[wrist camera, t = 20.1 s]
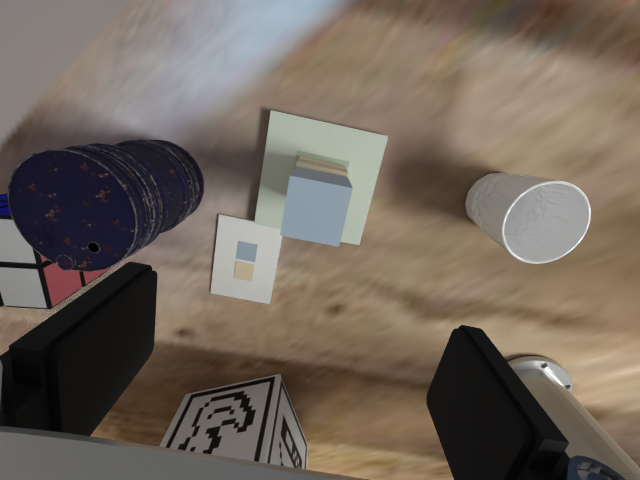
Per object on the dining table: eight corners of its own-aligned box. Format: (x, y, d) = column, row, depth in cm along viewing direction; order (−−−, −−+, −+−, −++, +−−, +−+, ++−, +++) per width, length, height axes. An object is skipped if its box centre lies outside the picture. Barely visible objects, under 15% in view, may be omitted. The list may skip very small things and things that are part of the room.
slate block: (336, 225, 33) (339, 246, 27) (287, 216, 33) (279, 235, 27) (347, 176, 31) (352, 188, 26) (296, 166, 31) (289, 175, 25)
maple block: (334, 207, 39) (336, 222, 33) (293, 199, 38) (287, 212, 33) (344, 165, 37) (348, 172, 31) (300, 156, 37) (296, 162, 31)
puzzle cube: (98, 195, 40) (28, 217, 30) (110, 270, 43) (51, 311, 34) (15, 190, 40) (-81, 211, 30) (34, 266, 43) (-47, 306, 34)
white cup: (448, 219, 40) (486, 248, 31) (479, 157, 38) (531, 167, 28) (505, 240, 41) (559, 274, 32) (539, 180, 39) (609, 198, 29)
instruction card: (270, 303, 44) (269, 304, 44) (211, 291, 44) (210, 293, 44) (284, 226, 41) (283, 227, 40) (219, 214, 40) (218, 214, 40)
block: (280, 373, 48) (261, 476, 34) (308, 445, 53) (302, 562, 39) (186, 393, 50) (131, 500, 36) (221, 462, 55) (185, 580, 40)
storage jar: (105, 155, 38) (-70, 180, 21) (181, 126, 37) (59, 126, 20) (148, 232, 41) (24, 307, 24) (218, 207, 40) (140, 268, 23)
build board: (358, 241, 41) (359, 245, 40) (256, 221, 41) (253, 224, 39) (386, 136, 37) (388, 136, 36) (272, 110, 36) (270, 110, 35)
